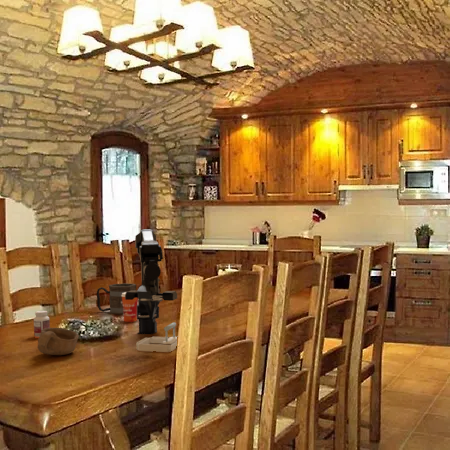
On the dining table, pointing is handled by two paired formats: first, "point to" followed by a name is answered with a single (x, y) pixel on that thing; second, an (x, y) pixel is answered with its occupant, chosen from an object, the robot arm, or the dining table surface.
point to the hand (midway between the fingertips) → (151, 318)
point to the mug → (115, 297)
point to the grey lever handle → (171, 339)
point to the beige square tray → (155, 345)
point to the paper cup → (129, 309)
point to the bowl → (57, 341)
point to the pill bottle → (40, 322)
